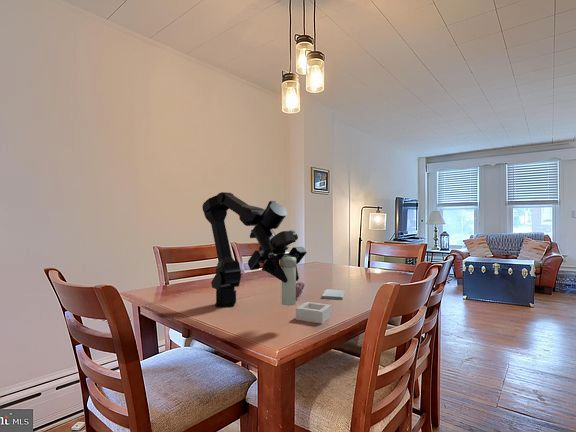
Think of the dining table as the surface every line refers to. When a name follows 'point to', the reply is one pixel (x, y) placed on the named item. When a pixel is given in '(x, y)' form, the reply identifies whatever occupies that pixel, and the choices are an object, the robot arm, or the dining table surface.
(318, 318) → the housing
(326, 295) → the hard drive
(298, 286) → the video game controller
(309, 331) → the dining table surface
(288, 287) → the toggle switch lever
